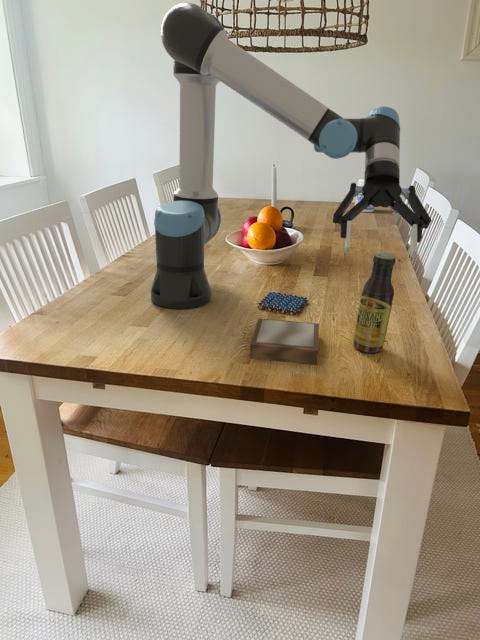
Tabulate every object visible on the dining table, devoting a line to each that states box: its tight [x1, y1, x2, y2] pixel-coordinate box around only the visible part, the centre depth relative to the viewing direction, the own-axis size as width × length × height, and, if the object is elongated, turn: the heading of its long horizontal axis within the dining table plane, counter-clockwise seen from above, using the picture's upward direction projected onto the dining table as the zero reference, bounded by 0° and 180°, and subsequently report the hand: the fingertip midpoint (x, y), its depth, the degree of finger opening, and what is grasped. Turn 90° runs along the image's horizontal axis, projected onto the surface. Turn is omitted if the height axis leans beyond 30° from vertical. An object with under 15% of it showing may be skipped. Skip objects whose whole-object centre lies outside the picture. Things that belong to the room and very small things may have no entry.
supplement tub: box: [354, 178, 375, 213], centre depth 238 cm, size 10×10×15 cm
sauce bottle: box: [353, 252, 397, 354], centre depth 97 cm, size 7×6×20 cm
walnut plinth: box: [249, 318, 320, 366], centre depth 100 cm, size 13×13×3 cm
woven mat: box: [257, 291, 309, 316], centre depth 122 cm, size 10×11×2 cm
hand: (380, 252), depth 102 cm, fingers open, 13 cm apart
